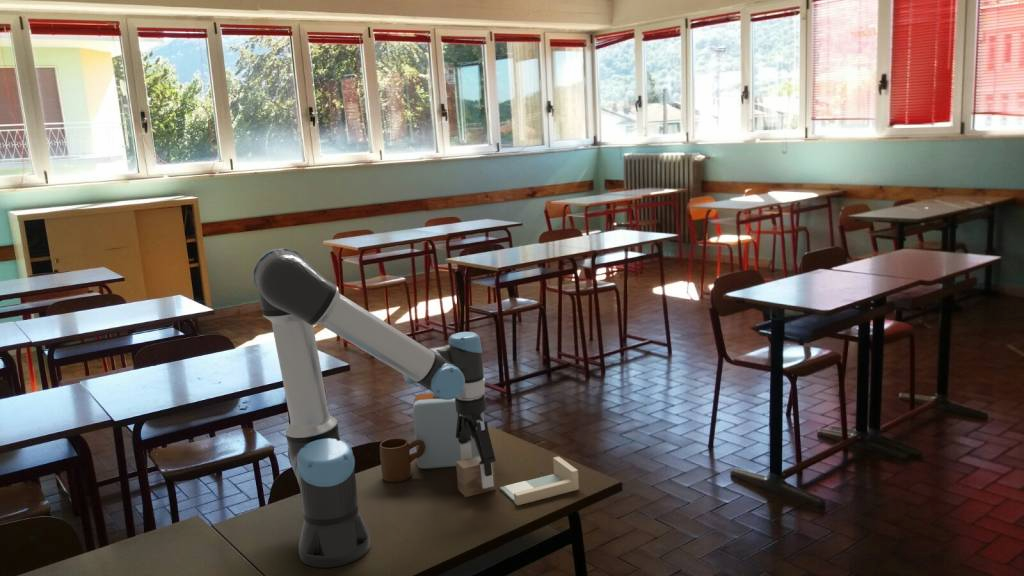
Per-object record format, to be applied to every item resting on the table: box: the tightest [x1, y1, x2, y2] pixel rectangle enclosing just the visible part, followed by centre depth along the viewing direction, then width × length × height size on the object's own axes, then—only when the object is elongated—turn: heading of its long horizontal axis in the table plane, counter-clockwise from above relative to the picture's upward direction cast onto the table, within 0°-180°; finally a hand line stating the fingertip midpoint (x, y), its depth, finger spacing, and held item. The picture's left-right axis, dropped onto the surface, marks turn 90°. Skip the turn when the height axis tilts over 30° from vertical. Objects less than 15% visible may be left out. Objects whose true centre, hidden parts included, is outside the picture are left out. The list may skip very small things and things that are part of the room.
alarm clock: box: [412, 392, 485, 469], centre depth 219 cm, size 18×9×21 cm, turn 93°
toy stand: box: [499, 456, 580, 506], centre depth 200 cm, size 17×10×5 cm, turn 114°
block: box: [455, 456, 496, 498], centre depth 202 cm, size 8×5×8 cm, turn 114°
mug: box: [379, 437, 425, 483], centre depth 212 cm, size 12×8×9 cm, turn 112°
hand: (477, 476), depth 202 cm, fingers open, 13 cm apart
